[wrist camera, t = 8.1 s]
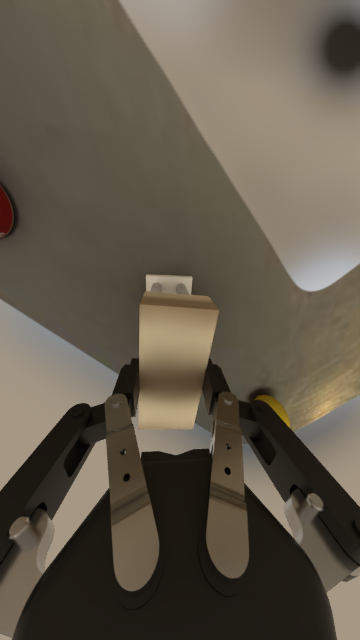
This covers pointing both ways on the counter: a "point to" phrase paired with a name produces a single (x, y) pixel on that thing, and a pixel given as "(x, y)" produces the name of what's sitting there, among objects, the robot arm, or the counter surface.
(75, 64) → the counter surface
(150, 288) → the peg stand
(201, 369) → the shelf board
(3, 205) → the soda can
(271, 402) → the lemon
